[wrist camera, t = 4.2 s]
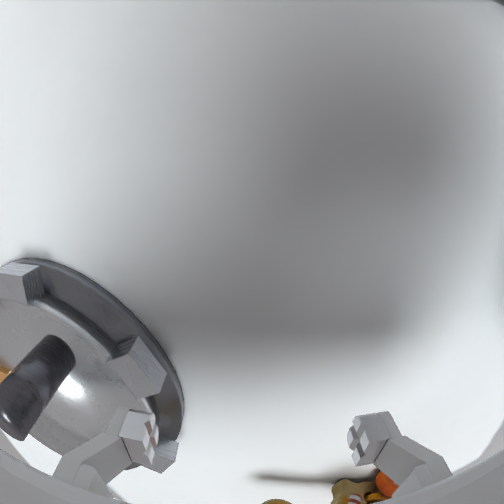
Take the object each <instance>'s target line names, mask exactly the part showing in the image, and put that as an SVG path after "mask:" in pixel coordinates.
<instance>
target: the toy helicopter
mask: <svg viewBox="0 0 504 504" xmlns="http://www.w3.org/2000/svg"><path fill="white" fill-rule="evenodd" d="M398 487H399V485H398V484H396V483H395V482H394V481H393V480H392V479H390V478H389V477H388V476H387V475H385V474H384V473H383V472H382V471H380V472H379V473H378V474H377V476H376V479H375V482H360V483H354V482H352V481H350V480H348V479H342V480H340V481H339V482H338V483H336V484H335V485H334V486H333V487H332V494H333V501H332V502H331V504H372V503H376V502H380V501H384V500H387V499H391V498H392V494H393V493H394V492H395V491H396V489H397V488H398ZM262 504H291V503H290V502H288V501H285V500H281V499H271V500H268V501H266V502H264V503H262Z"/></svg>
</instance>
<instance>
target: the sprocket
mask: <svg viewBox="0 0 504 504" xmlns="http://www.w3.org/2000/svg"><path fill="white" fill-rule="evenodd" d="M166 374H167V372H166V371H165V370H164V368H163V367H162V366H161V365H160V363H159V362H158V361H157V360H156V358H155V357H154V356H153V354H152V353H151V352H150V350H149V349H148V348H147V346H146V345H145V344H144V342H143V341H142V340H141V338H140V337H139V336H136V337H134V338H132V339H129V340H127V341H125V342H122V343H120V344H117V343H116V342H115V341H114V340H113V339H112V338H111V337H110V336H109V335H108V334H107V333H105V332H104V331H103V330H102V329H101V328H100V327H99V326H98V325H96V324H95V323H94V322H93V321H91V320H90V319H89V318H88V317H86V316H85V315H84V314H82V313H81V312H80V311H78V310H76V309H75V308H73V307H72V306H70V305H69V304H67V303H65V302H64V301H62V300H60V299H58V298H56V297H54V296H52V295H49V294H47V293H45V292H44V288H43V283H42V277H41V271H40V266H38V265H29V264H20V263H11V262H10V263H8V264H6V265H5V266H3V267H1V268H0V428H1V429H2V430H4V431H5V432H6V433H7V434H9V435H10V436H11V437H13V438H15V439H17V440H19V441H24V440H25V438H26V436H27V435H28V433H29V434H30V435H32V436H33V437H34V438H35V439H37V440H38V441H39V442H41V443H42V444H44V445H45V446H47V447H48V448H50V449H51V450H53V451H55V452H57V453H58V454H60V455H62V456H63V455H64V454H66V453H68V452H70V451H71V450H73V449H75V448H77V447H79V446H80V445H82V444H84V443H86V442H87V441H89V440H91V439H93V438H94V437H96V436H98V435H99V434H101V433H106V431H107V429H108V427H109V425H110V422H111V420H112V418H113V416H114V414H115V411H116V409H117V408H118V407H119V406H120V407H124V408H129V409H134V410H139V411H144V412H149V413H154V414H155V418H156V420H155V424H156V425H157V426H158V429H159V420H160V419H159V411H158V407H157V403H156V400H155V397H154V395H155V394H158V393H160V391H161V388H162V385H163V382H164V379H165V376H166ZM178 444H179V443H178V442H175V441H173V440H171V439H168V438H166V437H164V436H162V435H158V442H157V446H155V447H154V448H153V450H154V453H155V454H154V458H153V461H152V465H146V464H140V463H135V462H132V463H131V464H130V465H129V466H128V467H127V468H125V469H124V470H129V469H133V468H136V467H138V466H140V465H142V466H144V467H146V468H148V469H151V470H153V471H156V472H158V473H162V472H164V471H165V470H166V469H167V468H168V467H169V466H170V465H172V464H173V463H174V462H175V459H176V454H177V449H178Z"/></svg>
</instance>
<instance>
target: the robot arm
mask: <svg viewBox="0 0 504 504" xmlns="http://www.w3.org/2000/svg"><path fill="white" fill-rule="evenodd" d="M155 420H156V418H155V414H154V413H149V412H144V411H139V410H134V409H129V408H124V407H120V406H119V407H118V408H117V409H116V411H115V414H114V416H113V418H112V420H111V422H110V425H109V427H108V429H107V431H106V433H101V434H99V435H98V436H96V437H94V438H93V439H91V440H89V441H87V442H86V443H84V444H82V445H80V446H79V447H77V448H75V449H73V450H71V451H70V452H68V453H66V454H64V455H63V456H62V458H61V460H60V462H59V464H58V466H57V468H56V470H55V472H54V474H53V476H50V475H48V474H46V473H43V472H41V471H39V470H37V469H35V468H33V467H31V466H29V465H27V464H26V463H24V462H22V461H20V460H18V459H16V458H15V457H13V456H11V455H9V454H8V453H6V452H4V451H3V450H1V449H0V504H130V503H126V502H123V501H119V500H115V499H113V497H114V496H113V494H112V493H111V492H110V490H109V489H108V487H107V486H106V484H107V483H108V482H110V481H111V480H112V479H113V478H115V477H116V476H117V475H118V474H119V473H121V472H122V471H123V470H124V469H125V468H127V467H128V466H129V465H130V464H131V463H132V462H135V463H140V464H146V465H152V461H153V458H154V454H155V453H154V450H153V448H154V447H155V446H157V442H158V435H159V432H158V426H157V425H156V424H155ZM347 441H348V445H349V448H351V449H352V450H353V451H354V452H353V454H352V457H353V460H354V463H355V466H361V465H367V464H372V463H374V465H375V466H376V467H377V468H378V469H380V470H381V471H382V472H383V473H384V474H385V475H387V476H388V477H389V478H390V479H392V480H393V481H394V482H395V483H396V484H398V485H399V487H398V488H397V489H396V491H395V492H394V493H393V494H392V498H391V499H387V500H384V501H380V502H376V503H372V504H504V449H502V450H500V451H498V452H497V453H495V454H493V455H492V456H490V457H488V458H486V459H484V460H483V461H481V462H479V463H477V464H475V465H473V466H471V467H469V468H467V469H465V470H463V471H461V472H459V473H457V474H455V475H452V473H451V471H450V470H449V468H448V466H447V464H446V462H445V461H444V459H443V457H442V456H440V455H438V454H436V453H435V452H433V451H431V450H429V449H427V448H426V447H424V446H422V445H420V444H419V443H417V442H415V441H413V440H412V439H410V438H408V437H407V436H402V435H401V433H400V431H399V429H398V427H397V425H396V424H395V422H394V420H393V418H392V416H391V414H390V412H388V411H385V412H379V413H372V414H366V415H359V416H356V417H355V418H354V419H353V426H352V427H351V428H349V431H348V435H347Z"/></svg>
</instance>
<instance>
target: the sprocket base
mask: <svg viewBox="0 0 504 504" xmlns="http://www.w3.org/2000/svg"><path fill="white" fill-rule="evenodd" d="M12 263H20V264H29V265H38V266H40V271H41V277H42V283H43V288H44V292H45V293H47V294H49V295H52V296H54V297H56V298H58V299H60V300H62V301H64V302H65V303H67V304H69V305H70V306H72V307H73V308H75V309H76V310H78V311H80V312H81V313H82V314H84V315H85V316H86V317H88V318H89V319H90V320H91V321H93V322H94V323H95V324H96V325H98V326H99V327H100V328H101V329H102V330H103V331H104V332H105V333H107V334H108V335H109V336H110V337H111V338H112V339H113V340H114V341H115V342H116V343H117V344H120V343H122V342H125V341H127V340H129V339H132V338H134V337H136V336H139V337H140V338H141V340H142V341H143V342H144V344H145V345H146V346H147V348H148V349H149V350H150V352H151V353H152V354H153V356H154V357H155V358H156V360H157V361H158V362H159V363H160V365H161V366H162V367H163V368H164V370H165V371H166V372H167V374H166V376H165V379H164V382H163V385H162V388H161V391H160V393H158V394H155V395H154V397H155V400H156V403H157V407H158V411H159V419H160V420H159V429H158V432H159V435H162V436H164V437H166V438H168V439H171V440H173V441H175V440H176V439H177V437H178V434H179V432H180V429H181V424H182V419H183V413H184V399H183V395H182V390H181V386H180V383H179V381H178V378H177V375H176V372H175V371H174V369H173V367H172V365H171V363H170V361H169V359H168V357H167V356H166V354H165V353H164V351H163V350H162V348H161V347H160V345H159V344H158V342H157V341H156V340H155V338H154V337H153V336H152V335H151V333H150V332H149V331H148V330H147V328H146V327H145V326H144V325H143V324H142V323H141V322H140V321H139V320H138V319H137V318H136V317H135V315H134V314H133V313H132V312H131V311H130V310H129V309H127V308H126V307H125V306H124V305H123V304H122V303H121V302H120V301H119V300H117V299H116V298H115V297H114V296H113V295H111V294H110V293H109V292H107V291H106V290H105V289H104V288H102V287H101V286H100V285H98V284H97V283H95V282H93V281H92V280H90V279H89V278H87V277H86V276H84V275H82V274H80V273H78V272H76V271H74V270H72V269H70V268H68V267H66V266H63V265H60V264H58V263H55V262H52V261H47V260H41V259H22V260H17V261H14V262H12Z"/></svg>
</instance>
